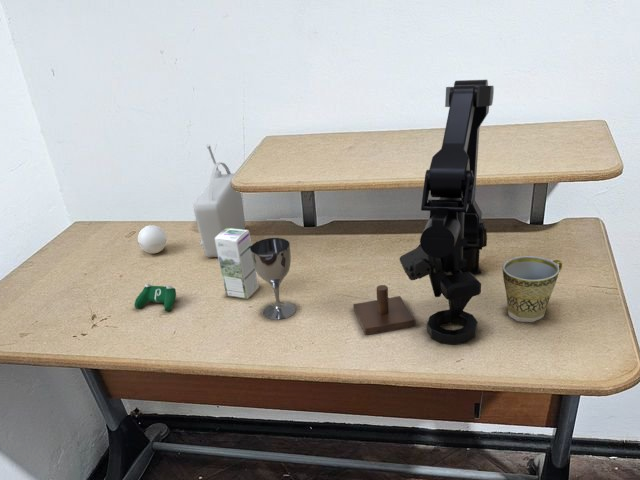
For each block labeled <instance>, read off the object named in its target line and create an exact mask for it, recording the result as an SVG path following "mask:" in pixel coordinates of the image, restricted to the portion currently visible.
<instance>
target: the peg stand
mask: <svg viewBox="0 0 640 480" xmlns="http://www.w3.org/2000/svg"><path fill="white" fill-rule="evenodd" d="M352 305H353V312H354V314H355V316H356V319H357V321H358V323H359V324H360V327H361V329H362V330H363V334H364V335H365V336H367V335H373V334H379V333H384V332H385V333H386V332H390V331H396V330H400V329H401V330H402V329H408V328H412V327H415V326H416V319H415V318H414V316H413V314H412V313H411V311H410V309H409V308H408V306H407V304H406V303H405V302H404V299H402V297H401V296H400V295H397V296H391V297H389V287H388V285H386V284H380V285H377V286H376V299H374V300H370V301H363V302H358V303H353V304H352Z"/></svg>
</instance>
